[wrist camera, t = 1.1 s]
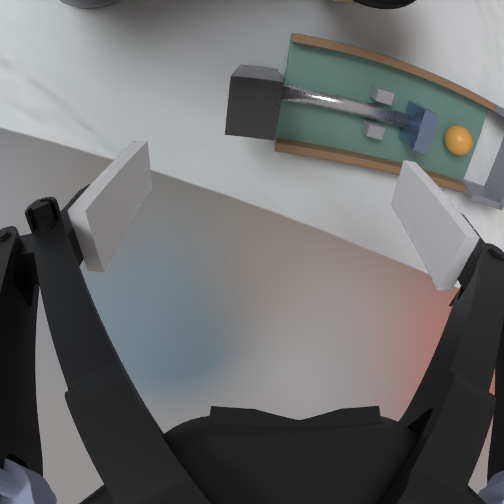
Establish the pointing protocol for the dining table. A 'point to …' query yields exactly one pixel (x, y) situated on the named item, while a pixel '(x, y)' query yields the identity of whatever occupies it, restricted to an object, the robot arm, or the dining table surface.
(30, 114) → the dining table surface
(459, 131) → the ball
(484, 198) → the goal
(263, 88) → the striker rod
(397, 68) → the lane
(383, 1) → the coffee cup
